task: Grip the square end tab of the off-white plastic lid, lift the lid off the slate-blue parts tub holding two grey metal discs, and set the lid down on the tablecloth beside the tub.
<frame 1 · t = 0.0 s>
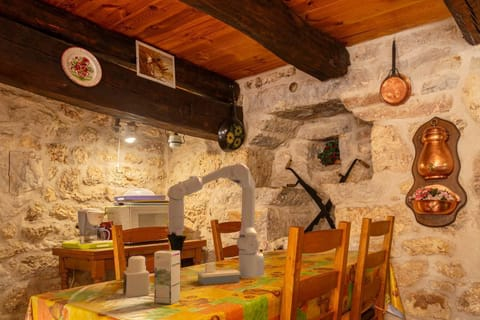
hand: (176, 254, 141), 10 cm above the table, tool pointing down, fingers open, 7 cm apart
syrup box: (167, 302, 111), on the table
tub: (218, 282, 137), on the table
medicine bottle: (135, 295, 121), on the table
lid: (218, 273, 138), point 3 cm above the table, touching tub
disc a: (226, 280, 138), resting on tub
disc b: (211, 282, 136), resting on tub
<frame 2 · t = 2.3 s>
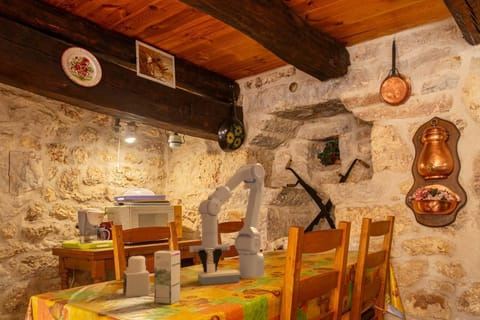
hand: (210, 271, 137), 4 cm above the table, tool pointing down, fingers closed on lid, 3 cm apart
lid: (218, 273, 138), point 3 cm above the table, touching gripper, tub
everything else where it was.
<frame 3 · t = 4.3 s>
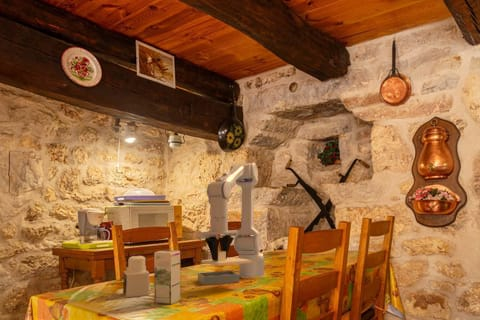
hand: (219, 259, 125), 10 cm above the table, tool pointing down, fingers closed on lid, 3 cm apart
lid: (226, 262, 127), point 9 cm above the table, touching gripper
everything else where it was.
when the fingers open (2 cm above the table, at t = 6.4 s): lid drops 2 cm, on the table.
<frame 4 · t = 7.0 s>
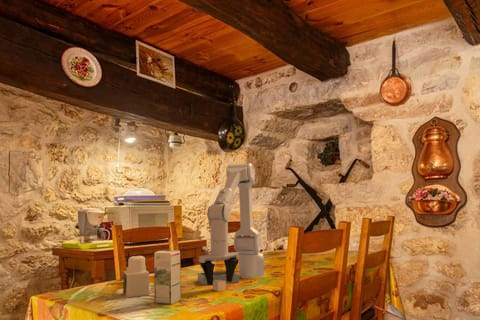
hand: (219, 283, 124), 2 cm above the table, tool pointing down, fingers open, 7 cm apart
lid: (226, 291, 126), on the table
everything else where it was.
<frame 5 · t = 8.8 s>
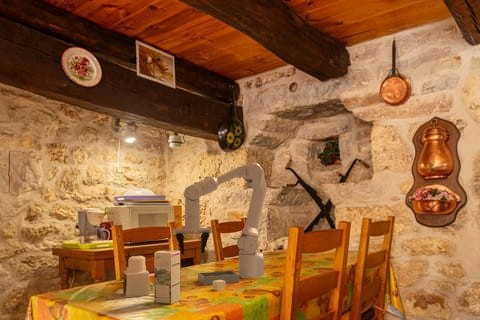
hand: (192, 253, 143), 10 cm above the table, tool pointing down, fingers open, 7 cm apart
nothing on the table moved.
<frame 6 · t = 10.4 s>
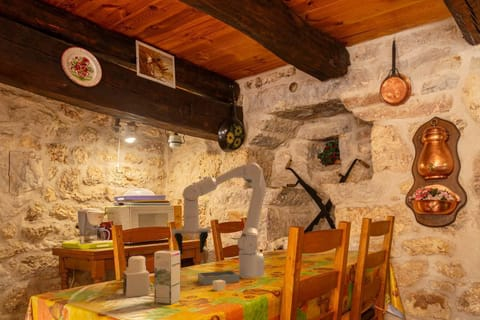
hand: (191, 253, 144), 10 cm above the table, tool pointing down, fingers open, 7 cm apart
nothing on the table moved.
at the end: lid inside the target area (1.3 cm from its centre), on the table; lid touching table; the gripper is holding nothing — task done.
